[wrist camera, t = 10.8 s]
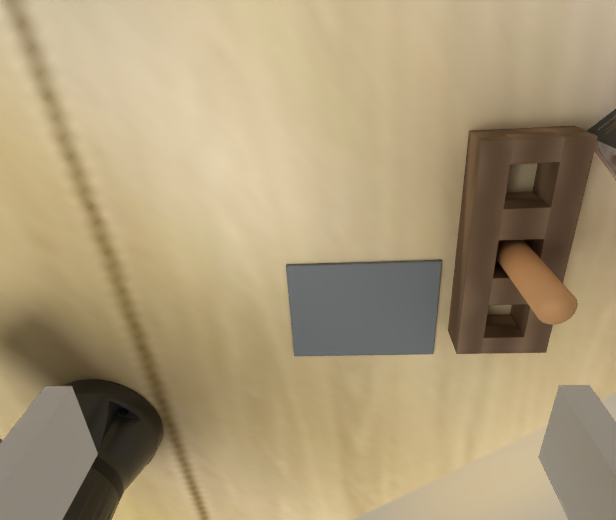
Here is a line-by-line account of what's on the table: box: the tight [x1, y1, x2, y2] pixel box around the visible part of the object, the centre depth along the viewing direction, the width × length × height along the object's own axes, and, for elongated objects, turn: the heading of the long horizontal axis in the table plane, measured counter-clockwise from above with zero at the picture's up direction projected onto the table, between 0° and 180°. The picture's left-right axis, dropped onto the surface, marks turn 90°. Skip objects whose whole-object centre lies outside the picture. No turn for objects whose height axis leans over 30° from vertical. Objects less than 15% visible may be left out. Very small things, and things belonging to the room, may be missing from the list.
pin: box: [496, 240, 577, 324], centre depth 40 cm, size 3×3×12 cm
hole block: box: [448, 126, 598, 354], centre depth 43 cm, size 9×22×4 cm, turn 3°
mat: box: [286, 260, 442, 356], centre depth 49 cm, size 16×12×1 cm
